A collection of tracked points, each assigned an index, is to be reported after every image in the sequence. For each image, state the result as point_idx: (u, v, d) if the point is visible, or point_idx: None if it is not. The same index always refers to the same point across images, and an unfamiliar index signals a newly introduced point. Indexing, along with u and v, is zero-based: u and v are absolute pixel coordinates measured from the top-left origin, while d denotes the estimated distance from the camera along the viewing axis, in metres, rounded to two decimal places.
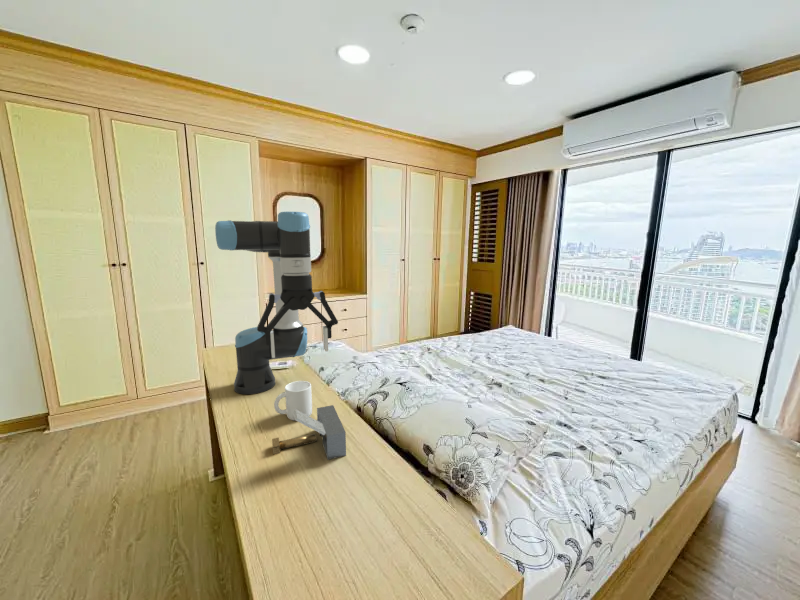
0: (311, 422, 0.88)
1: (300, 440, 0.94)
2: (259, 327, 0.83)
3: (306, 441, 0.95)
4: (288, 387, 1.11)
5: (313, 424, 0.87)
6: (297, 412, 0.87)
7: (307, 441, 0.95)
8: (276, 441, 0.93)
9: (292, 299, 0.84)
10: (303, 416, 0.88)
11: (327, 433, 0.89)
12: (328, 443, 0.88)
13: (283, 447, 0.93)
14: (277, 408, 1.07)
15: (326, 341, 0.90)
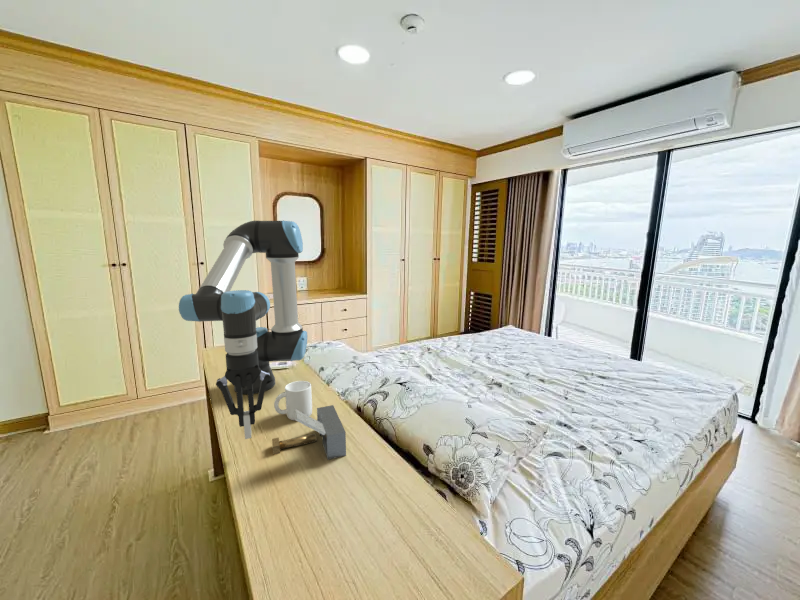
0: (311, 422, 0.88)
1: (300, 440, 0.94)
2: (231, 412, 0.85)
3: (306, 441, 0.95)
4: (288, 387, 1.11)
5: (313, 424, 0.87)
6: (297, 412, 0.87)
7: (307, 441, 0.95)
8: (276, 441, 0.93)
9: (236, 378, 0.84)
10: (303, 416, 0.88)
11: (327, 433, 0.89)
12: (328, 443, 0.88)
13: (283, 447, 0.93)
14: (277, 408, 1.07)
15: (248, 428, 0.87)
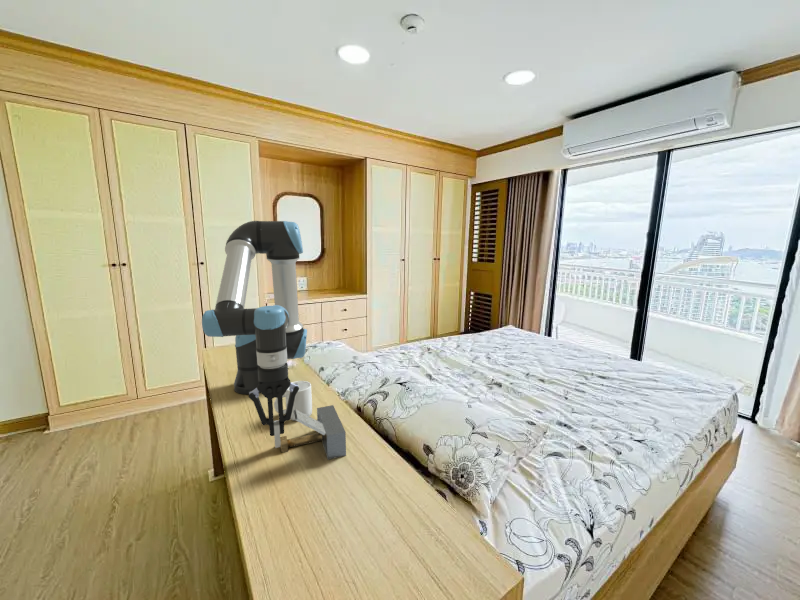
0: (311, 422, 0.88)
1: (308, 438, 0.95)
2: (262, 422, 0.89)
3: (314, 439, 0.96)
4: None
5: (313, 424, 0.87)
6: (297, 412, 0.87)
7: (314, 439, 0.96)
8: (284, 440, 0.93)
9: (268, 390, 0.88)
10: (303, 416, 0.88)
11: (327, 433, 0.89)
12: (328, 443, 0.88)
13: (291, 445, 0.93)
14: (277, 408, 1.07)
15: (278, 437, 0.91)
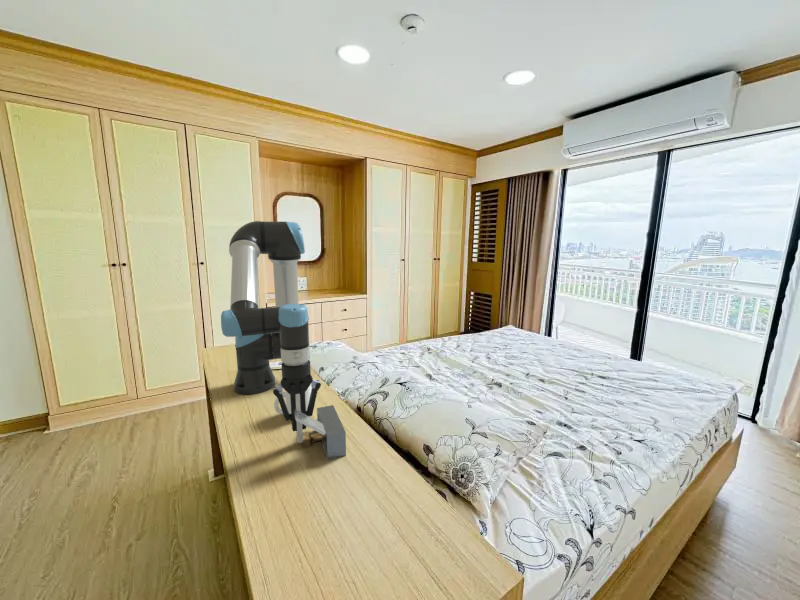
0: (311, 422, 0.88)
1: None
2: (285, 417, 0.91)
3: None
4: None
5: (313, 424, 0.87)
6: (297, 412, 0.87)
7: None
8: (306, 435, 0.96)
9: (291, 386, 0.90)
10: (303, 416, 0.88)
11: (327, 433, 0.89)
12: (328, 443, 0.88)
13: (313, 441, 0.96)
14: (277, 408, 1.07)
15: (301, 433, 0.94)
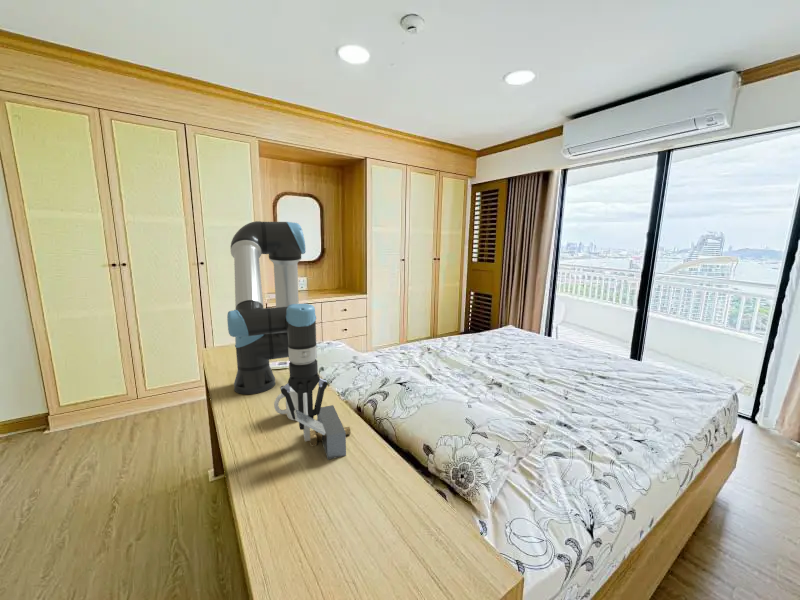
0: (311, 422, 0.88)
1: None
2: (293, 416, 0.92)
3: None
4: None
5: (313, 424, 0.87)
6: (297, 412, 0.87)
7: None
8: (313, 433, 0.96)
9: (299, 385, 0.91)
10: (303, 416, 0.88)
11: (327, 433, 0.89)
12: (328, 443, 0.88)
13: (319, 439, 0.96)
14: (277, 408, 1.07)
15: (308, 431, 0.94)
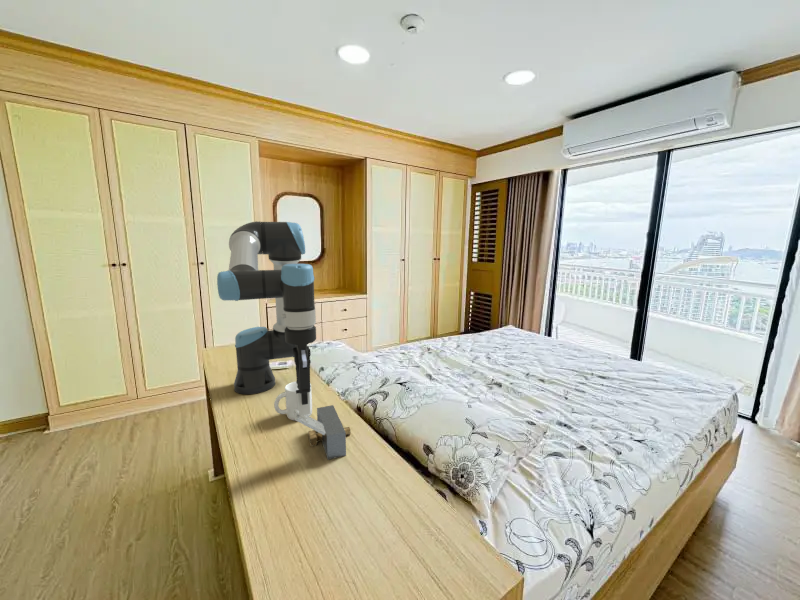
0: (311, 422, 0.88)
1: None
2: None
3: None
4: (288, 387, 1.11)
5: (313, 424, 0.87)
6: (297, 412, 0.87)
7: None
8: (313, 434, 0.96)
9: (292, 349, 0.85)
10: (303, 416, 0.88)
11: (327, 433, 0.89)
12: (328, 443, 0.88)
13: (319, 439, 0.96)
14: (277, 408, 1.07)
15: None
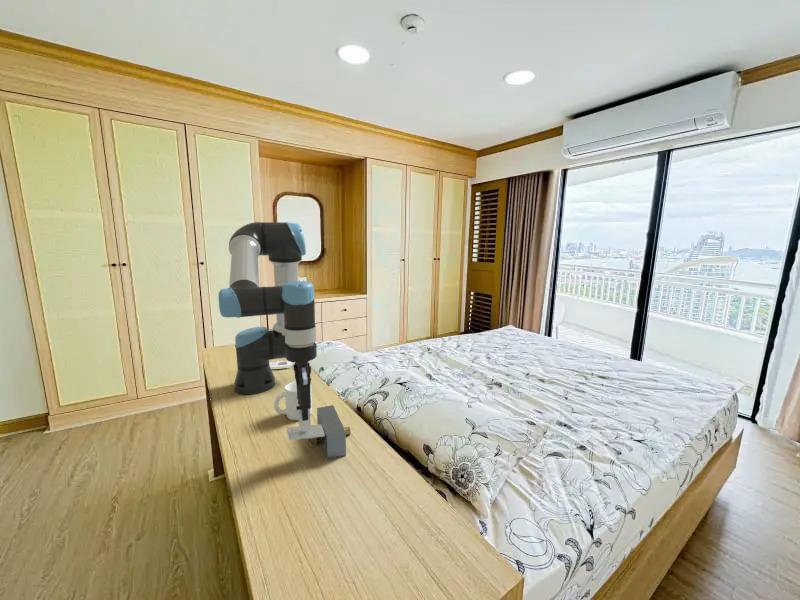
0: (306, 431, 0.88)
1: None
2: (297, 395, 0.89)
3: None
4: (288, 387, 1.11)
5: (308, 433, 0.87)
6: (289, 430, 0.87)
7: None
8: None
9: (293, 366, 0.86)
10: (297, 430, 0.88)
11: (327, 433, 0.89)
12: (328, 443, 0.88)
13: (319, 439, 0.96)
14: (277, 408, 1.07)
15: (299, 421, 0.87)
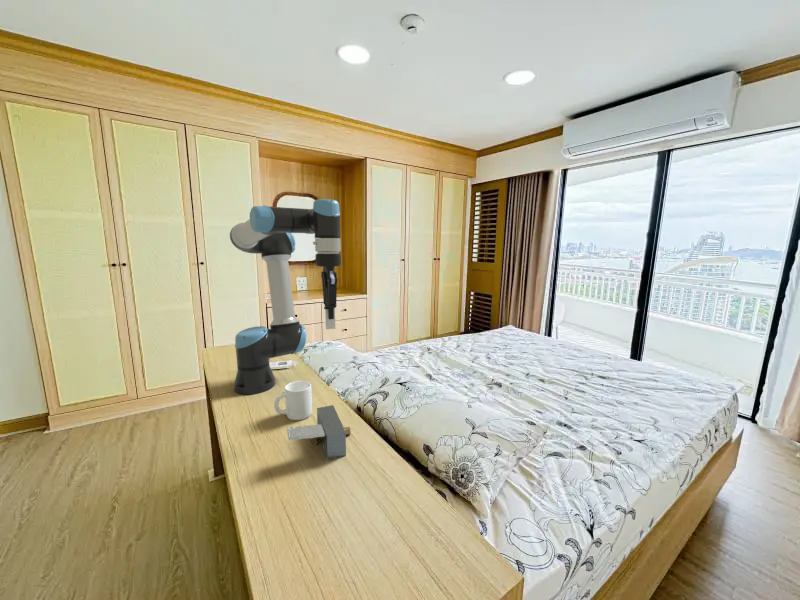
0: (306, 431, 0.88)
1: None
2: None
3: None
4: (288, 387, 1.11)
5: (308, 433, 0.87)
6: (289, 430, 0.87)
7: None
8: None
9: (321, 273, 1.02)
10: (297, 430, 0.88)
11: (327, 433, 0.89)
12: (328, 443, 0.88)
13: (319, 439, 0.96)
14: (277, 408, 1.07)
15: (326, 320, 1.03)
